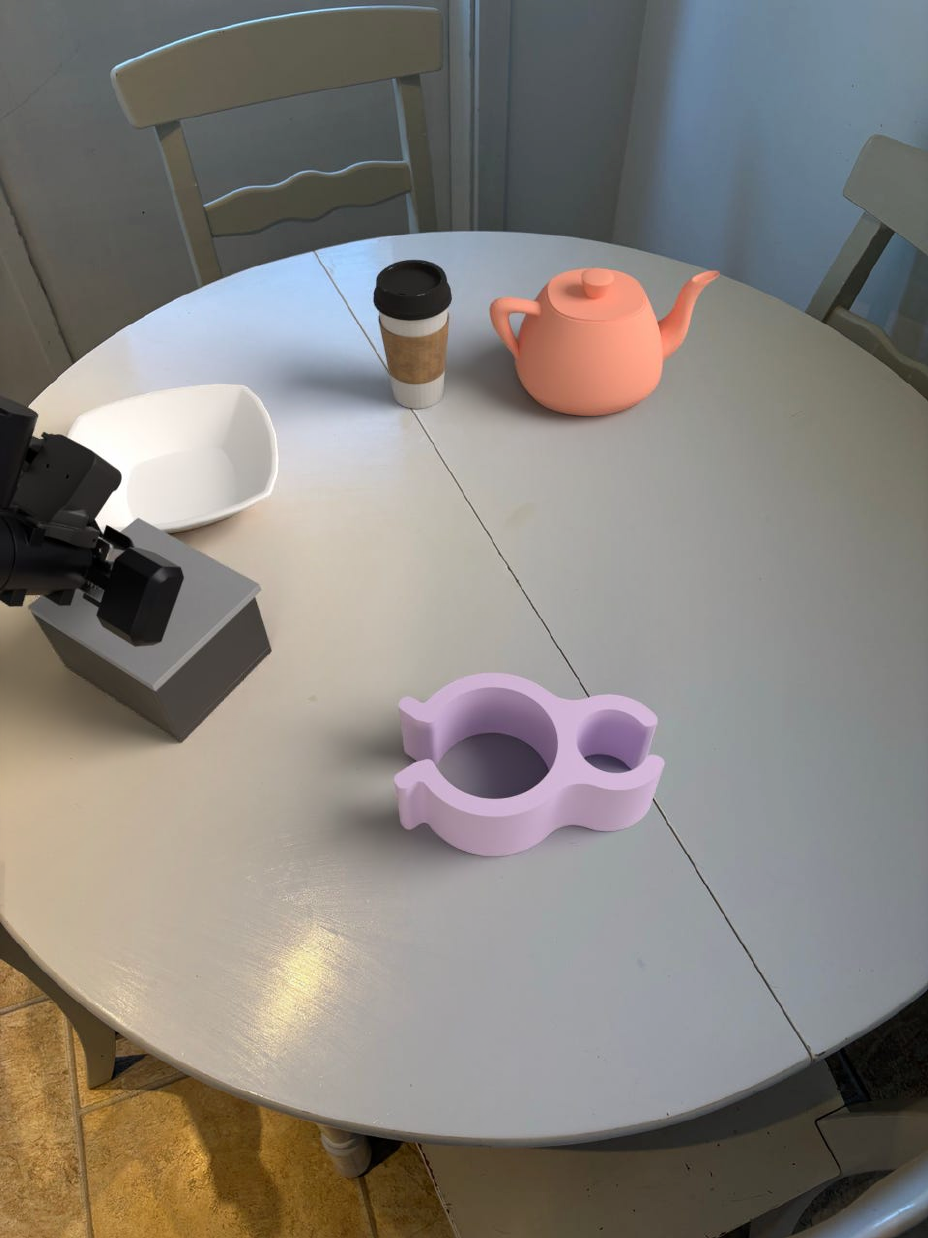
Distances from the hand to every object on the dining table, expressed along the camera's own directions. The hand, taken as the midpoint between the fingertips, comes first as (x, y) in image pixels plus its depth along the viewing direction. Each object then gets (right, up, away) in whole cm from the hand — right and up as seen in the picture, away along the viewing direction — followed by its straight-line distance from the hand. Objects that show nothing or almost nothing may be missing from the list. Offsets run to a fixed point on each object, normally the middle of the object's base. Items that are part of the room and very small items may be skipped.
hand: (153, 560), depth 73 cm
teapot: (+41, +24, +33) cm, 57 cm away
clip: (+31, -18, -1) cm, 36 cm away
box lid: (-1, -3, +2) cm, 4 cm away
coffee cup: (+20, +22, +31) cm, 43 cm away
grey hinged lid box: (-1, -8, +7) cm, 11 cm away
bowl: (-4, +9, +21) cm, 23 cm away
